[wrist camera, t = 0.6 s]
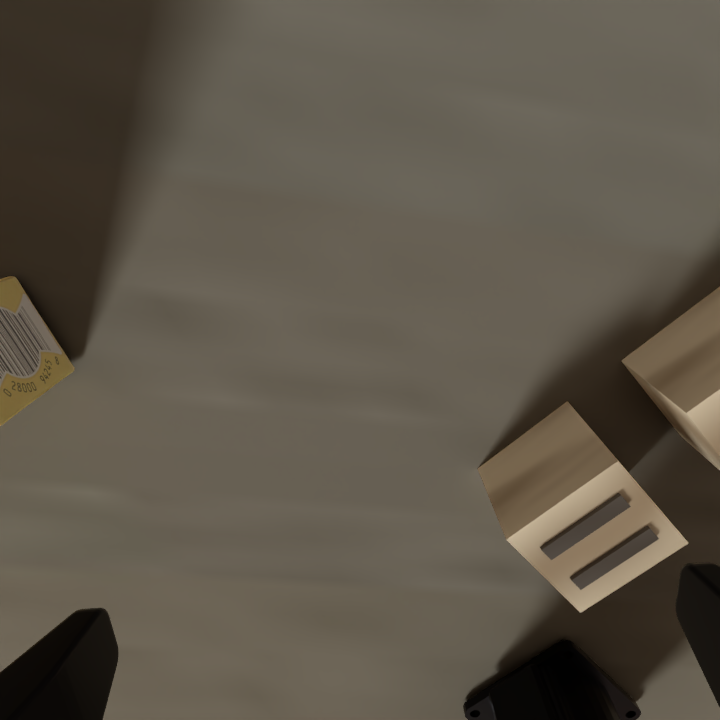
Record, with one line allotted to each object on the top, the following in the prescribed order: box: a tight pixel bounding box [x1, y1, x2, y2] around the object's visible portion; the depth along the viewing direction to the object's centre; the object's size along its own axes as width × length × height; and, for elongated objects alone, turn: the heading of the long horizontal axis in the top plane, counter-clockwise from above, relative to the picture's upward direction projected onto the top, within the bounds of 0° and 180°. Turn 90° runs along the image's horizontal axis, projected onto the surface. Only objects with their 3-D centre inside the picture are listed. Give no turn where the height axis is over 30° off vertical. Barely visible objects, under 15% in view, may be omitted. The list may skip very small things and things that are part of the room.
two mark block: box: [478, 401, 688, 613], centre depth 21 cm, size 4×4×5 cm
